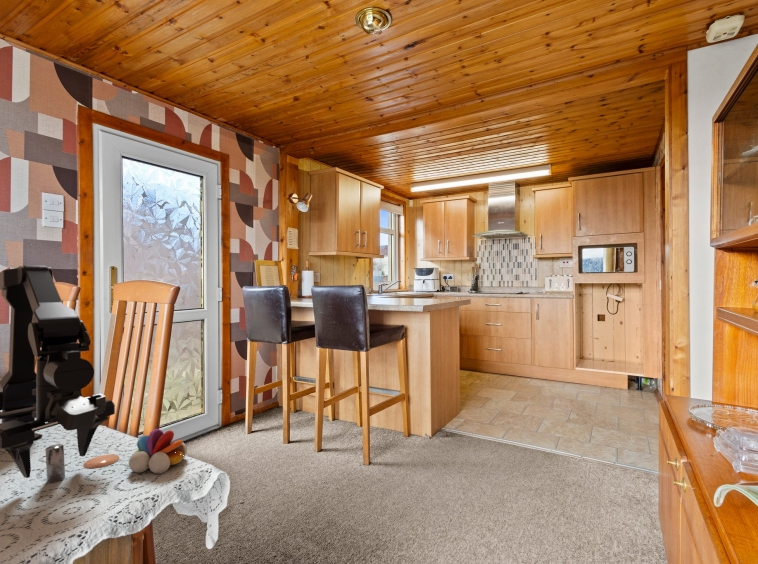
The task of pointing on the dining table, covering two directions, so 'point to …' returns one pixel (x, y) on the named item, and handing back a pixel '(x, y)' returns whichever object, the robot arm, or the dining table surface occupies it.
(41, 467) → the dining table surface
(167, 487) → the dining table surface
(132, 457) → the rainbow petal ball
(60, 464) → the steel peg
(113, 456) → the marker disc
